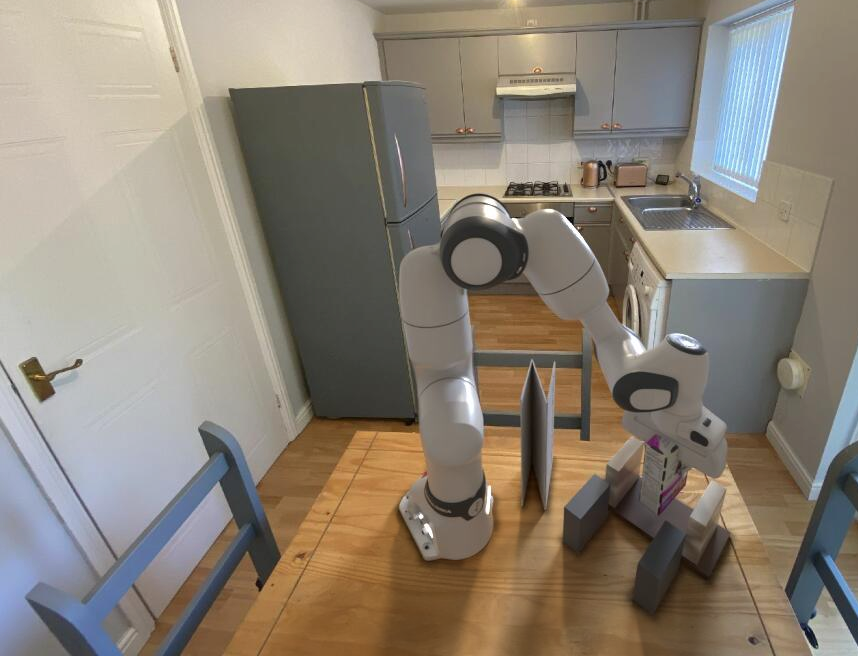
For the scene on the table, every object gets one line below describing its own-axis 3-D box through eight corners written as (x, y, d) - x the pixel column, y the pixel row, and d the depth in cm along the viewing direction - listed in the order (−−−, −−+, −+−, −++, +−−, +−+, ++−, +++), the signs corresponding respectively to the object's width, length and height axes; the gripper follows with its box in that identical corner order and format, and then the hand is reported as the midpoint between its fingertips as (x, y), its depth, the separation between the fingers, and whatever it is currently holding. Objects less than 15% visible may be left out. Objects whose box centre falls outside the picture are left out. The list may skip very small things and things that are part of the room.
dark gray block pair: (562, 540, 87) (563, 506, 83) (592, 505, 94) (594, 473, 91) (652, 615, 74) (659, 579, 70) (678, 568, 82) (686, 533, 78)
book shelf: (592, 498, 96) (595, 458, 91) (619, 467, 104) (623, 429, 99) (708, 581, 79) (719, 537, 75) (729, 536, 87) (741, 494, 83)
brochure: (545, 510, 94) (547, 403, 82) (521, 506, 95) (520, 399, 83) (552, 460, 106) (555, 361, 95) (531, 457, 107) (531, 359, 96)
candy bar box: (665, 471, 94) (674, 414, 88) (686, 485, 91) (697, 427, 84) (636, 501, 88) (644, 441, 81) (658, 518, 84) (668, 456, 78)
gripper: (618, 396, 85) (613, 447, 91) (724, 449, 72) (711, 505, 77) (634, 381, 89) (628, 431, 95) (736, 429, 76) (723, 484, 82)
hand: (666, 465), depth 86 cm, fingers closed on candy bar box, 5 cm apart
